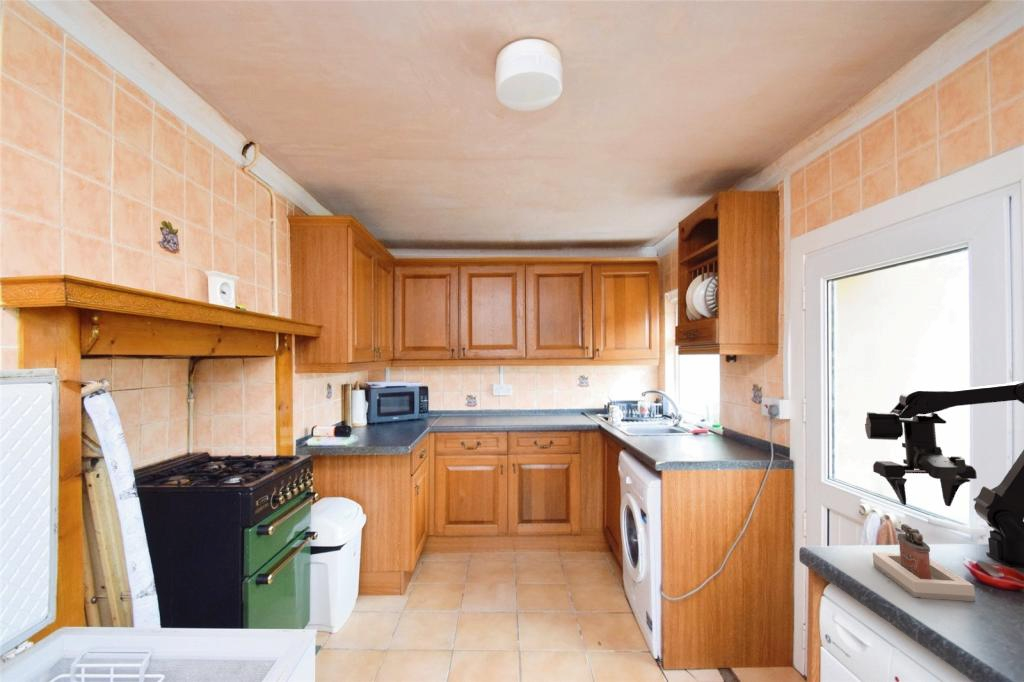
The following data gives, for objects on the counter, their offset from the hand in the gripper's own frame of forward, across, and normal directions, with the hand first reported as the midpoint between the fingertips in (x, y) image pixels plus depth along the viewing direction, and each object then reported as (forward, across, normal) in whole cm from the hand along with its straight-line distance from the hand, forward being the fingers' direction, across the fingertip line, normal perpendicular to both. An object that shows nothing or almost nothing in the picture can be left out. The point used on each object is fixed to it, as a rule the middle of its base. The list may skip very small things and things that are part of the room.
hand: (925, 505), depth 109 cm
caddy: (+11, -12, -17) cm, 24 cm away
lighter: (+10, -13, -17) cm, 23 cm away
